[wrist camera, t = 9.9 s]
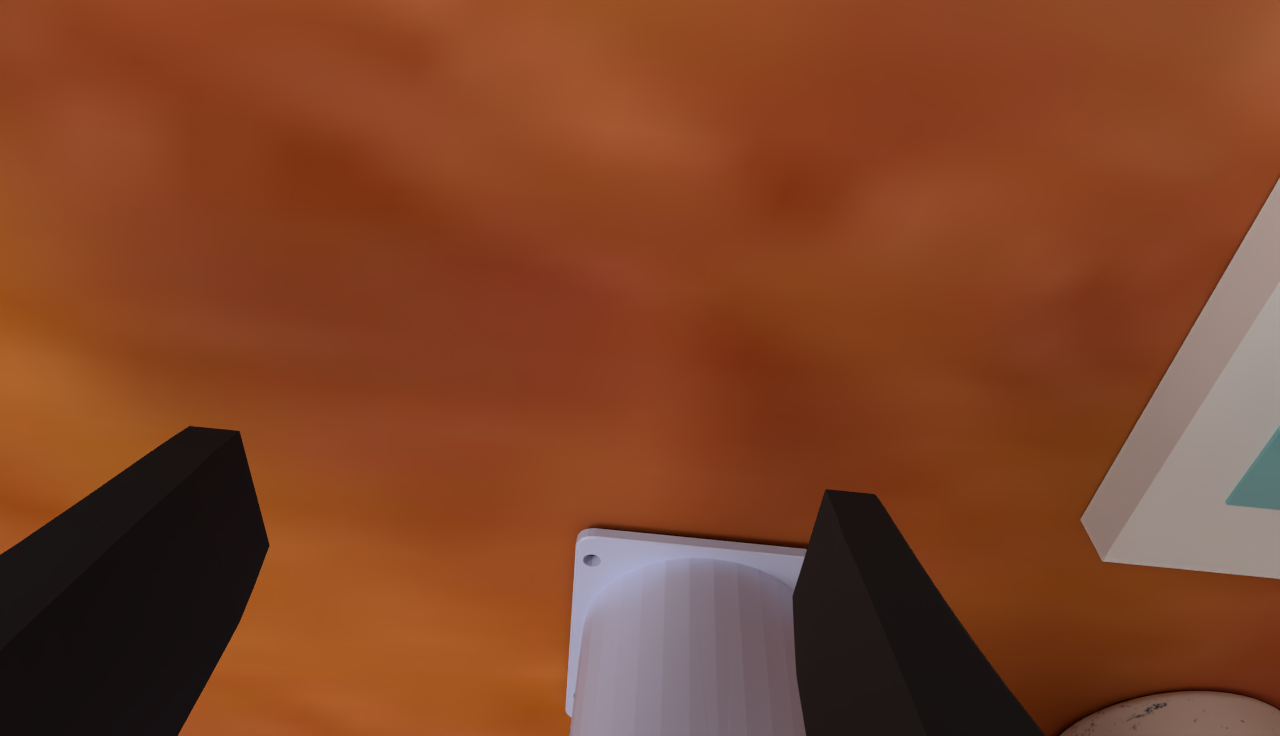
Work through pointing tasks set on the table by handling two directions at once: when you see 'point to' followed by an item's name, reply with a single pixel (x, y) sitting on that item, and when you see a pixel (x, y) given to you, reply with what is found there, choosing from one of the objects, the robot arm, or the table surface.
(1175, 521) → the pin board
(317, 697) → the table surface
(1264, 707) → the teacup with lid
